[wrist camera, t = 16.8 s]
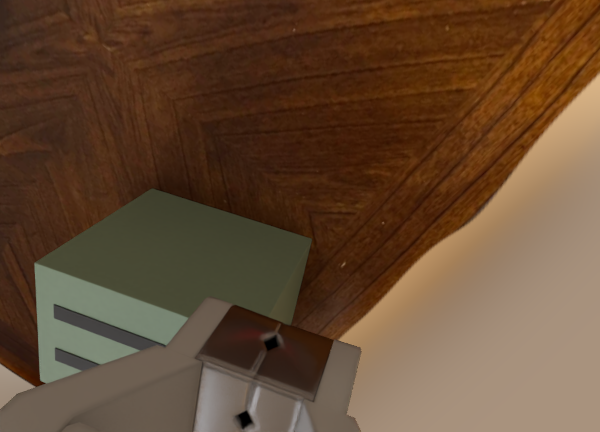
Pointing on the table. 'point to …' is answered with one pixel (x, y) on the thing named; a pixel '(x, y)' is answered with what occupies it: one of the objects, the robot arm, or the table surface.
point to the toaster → (157, 279)
